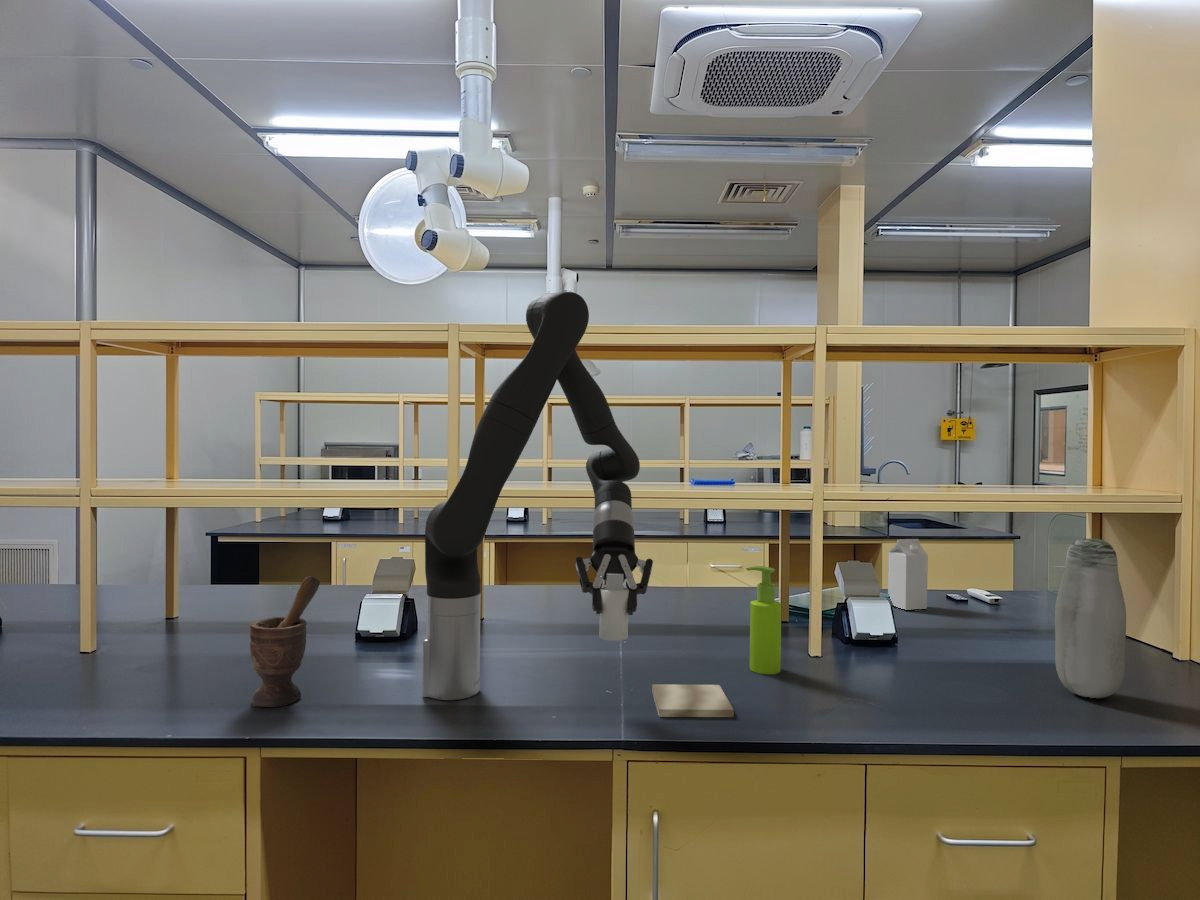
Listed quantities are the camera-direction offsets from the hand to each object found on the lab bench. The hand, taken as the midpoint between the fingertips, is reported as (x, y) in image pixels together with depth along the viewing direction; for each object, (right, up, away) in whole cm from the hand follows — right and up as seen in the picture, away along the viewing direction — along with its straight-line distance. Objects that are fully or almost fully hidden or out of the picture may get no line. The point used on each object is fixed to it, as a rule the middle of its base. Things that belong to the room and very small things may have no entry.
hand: (614, 611), depth 118 cm
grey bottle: (+85, -17, +9) cm, 87 cm away
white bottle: (0, -5, +2) cm, 5 cm away
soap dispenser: (+29, -16, +21) cm, 40 cm away
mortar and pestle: (-56, -15, +3) cm, 58 cm away
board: (+13, -16, +2) cm, 21 cm away
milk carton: (+82, -17, +78) cm, 114 cm away
